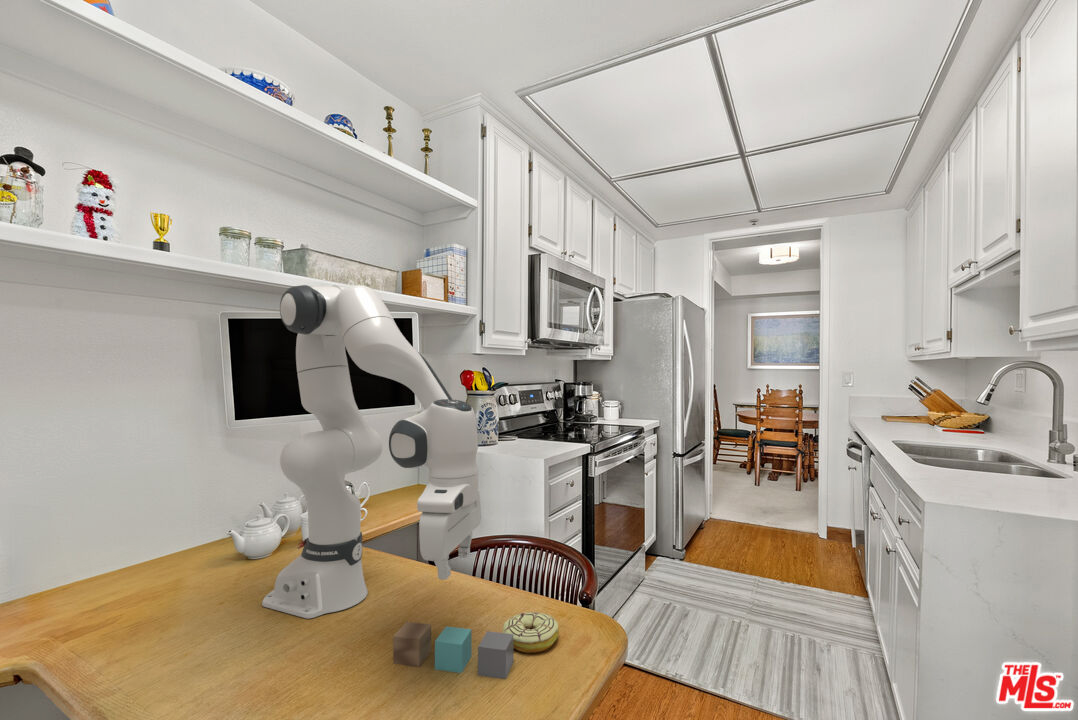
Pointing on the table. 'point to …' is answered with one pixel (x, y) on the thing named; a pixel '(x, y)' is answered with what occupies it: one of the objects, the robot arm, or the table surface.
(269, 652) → the table surface
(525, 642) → the decorated donut
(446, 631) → the teal cube
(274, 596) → the robot arm
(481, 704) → the table surface
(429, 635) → the walnut cube
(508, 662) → the charcoal cube
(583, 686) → the table surface
